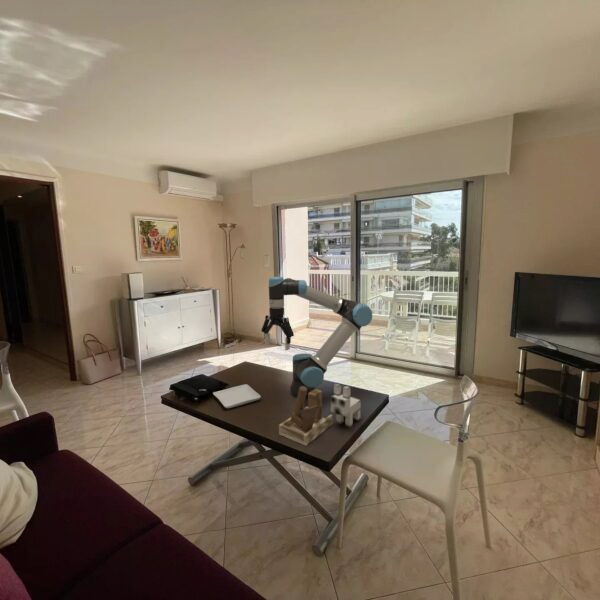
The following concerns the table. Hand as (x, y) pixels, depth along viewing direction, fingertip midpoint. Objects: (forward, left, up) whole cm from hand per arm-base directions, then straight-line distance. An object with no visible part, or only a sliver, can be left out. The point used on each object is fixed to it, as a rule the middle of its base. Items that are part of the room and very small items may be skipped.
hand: (277, 347), depth 166 cm
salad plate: (+7, -25, -33) cm, 42 cm away
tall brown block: (+2, +25, -31) cm, 40 cm away
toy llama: (-8, +37, -33) cm, 50 cm away
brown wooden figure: (+12, +24, -30) cm, 40 cm away
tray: (+9, +25, -33) cm, 42 cm away
